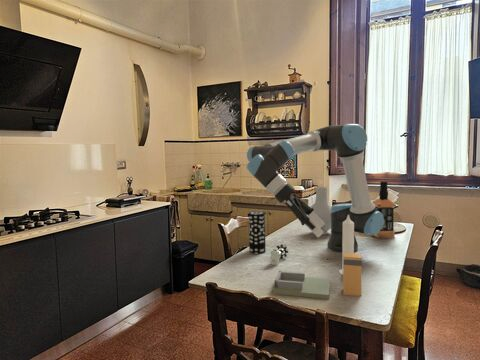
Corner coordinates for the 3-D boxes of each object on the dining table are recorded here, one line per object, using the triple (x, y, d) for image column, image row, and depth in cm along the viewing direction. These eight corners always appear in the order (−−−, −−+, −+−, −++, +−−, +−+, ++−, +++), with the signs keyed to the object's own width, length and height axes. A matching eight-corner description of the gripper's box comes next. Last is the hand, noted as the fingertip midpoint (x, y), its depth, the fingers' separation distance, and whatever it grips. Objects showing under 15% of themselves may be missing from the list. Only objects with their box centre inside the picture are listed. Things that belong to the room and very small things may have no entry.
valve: (280, 266, 155) (288, 258, 166) (280, 252, 154) (288, 245, 165) (266, 264, 158) (275, 256, 168) (266, 250, 157) (275, 243, 168)
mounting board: (329, 282, 136) (329, 272, 135) (329, 299, 121) (329, 288, 121) (279, 278, 141) (279, 268, 140) (272, 293, 126) (272, 283, 126)
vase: (339, 231, 212) (339, 186, 209) (331, 238, 199) (331, 189, 196) (313, 228, 221) (313, 185, 218) (303, 234, 207) (303, 188, 205)
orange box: (360, 290, 128) (360, 253, 126) (361, 296, 123) (361, 257, 122) (343, 288, 129) (343, 252, 128) (343, 294, 125) (343, 256, 123)
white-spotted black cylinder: (264, 254, 172) (263, 214, 170) (248, 253, 174) (247, 214, 172) (266, 249, 180) (265, 211, 178) (250, 248, 182) (250, 211, 180)
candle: (336, 270, 148) (336, 213, 145) (352, 270, 148) (353, 212, 146) (342, 277, 140) (343, 216, 138) (359, 276, 141) (360, 215, 139)
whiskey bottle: (395, 238, 195) (396, 181, 192) (377, 238, 195) (378, 182, 192) (387, 233, 205) (388, 180, 202) (371, 233, 206) (371, 180, 202)
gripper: (279, 191, 142) (316, 228, 140) (267, 201, 118) (312, 246, 116) (291, 178, 140) (329, 216, 138) (282, 186, 116) (328, 231, 114)
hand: (321, 230), depth 127 cm, fingers open, 13 cm apart
